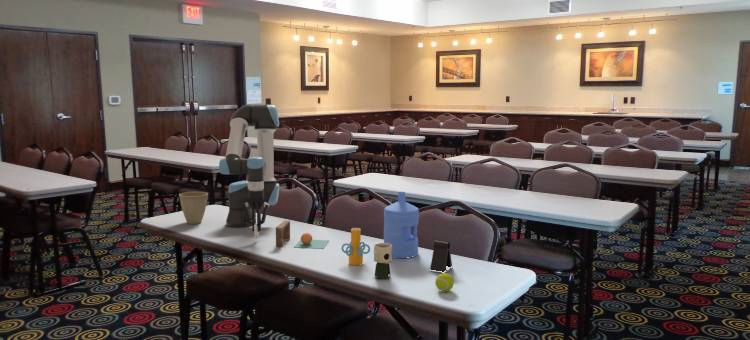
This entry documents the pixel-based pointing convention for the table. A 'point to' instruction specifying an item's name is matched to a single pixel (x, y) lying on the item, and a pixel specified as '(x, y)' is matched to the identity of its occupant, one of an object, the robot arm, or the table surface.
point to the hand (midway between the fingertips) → (256, 237)
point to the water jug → (401, 227)
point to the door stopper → (441, 256)
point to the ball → (306, 238)
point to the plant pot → (193, 206)
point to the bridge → (282, 233)
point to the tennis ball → (444, 282)
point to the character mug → (382, 259)
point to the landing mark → (312, 244)
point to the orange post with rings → (355, 247)
